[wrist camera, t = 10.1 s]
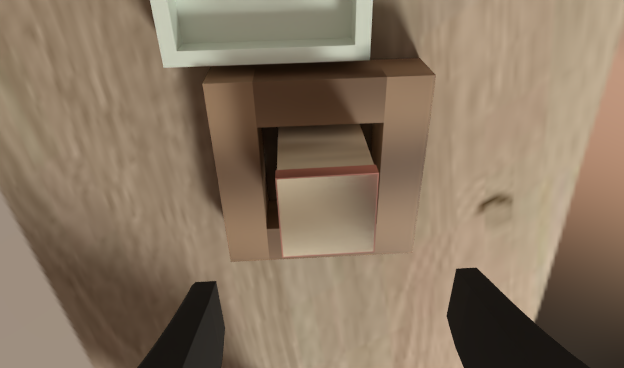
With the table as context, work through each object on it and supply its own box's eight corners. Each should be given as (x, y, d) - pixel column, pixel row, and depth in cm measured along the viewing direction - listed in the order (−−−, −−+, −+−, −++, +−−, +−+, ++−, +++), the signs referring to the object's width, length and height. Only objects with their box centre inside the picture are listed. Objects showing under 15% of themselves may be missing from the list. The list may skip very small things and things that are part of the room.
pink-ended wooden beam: (355, 181, 22) (374, 252, 17) (282, 184, 22) (282, 257, 17) (357, 113, 20) (379, 173, 15) (277, 117, 20) (275, 178, 15)
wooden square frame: (401, 223, 24) (412, 252, 21) (235, 231, 23) (230, 261, 21) (419, 58, 19) (435, 75, 17) (211, 65, 18) (202, 83, 16)
